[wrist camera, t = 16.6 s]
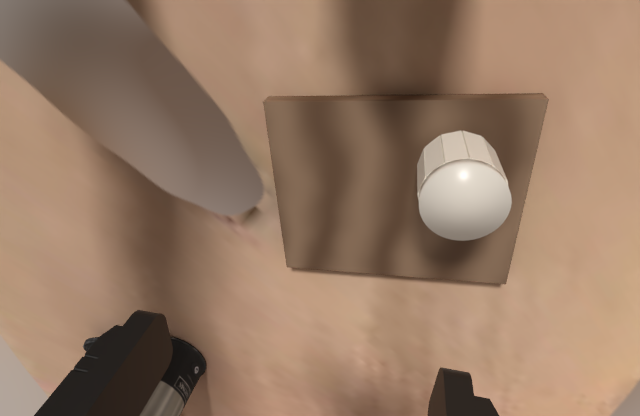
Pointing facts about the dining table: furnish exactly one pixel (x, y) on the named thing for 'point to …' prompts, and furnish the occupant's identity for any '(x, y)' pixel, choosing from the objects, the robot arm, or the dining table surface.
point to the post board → (391, 180)
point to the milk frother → (173, 380)
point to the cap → (462, 187)
